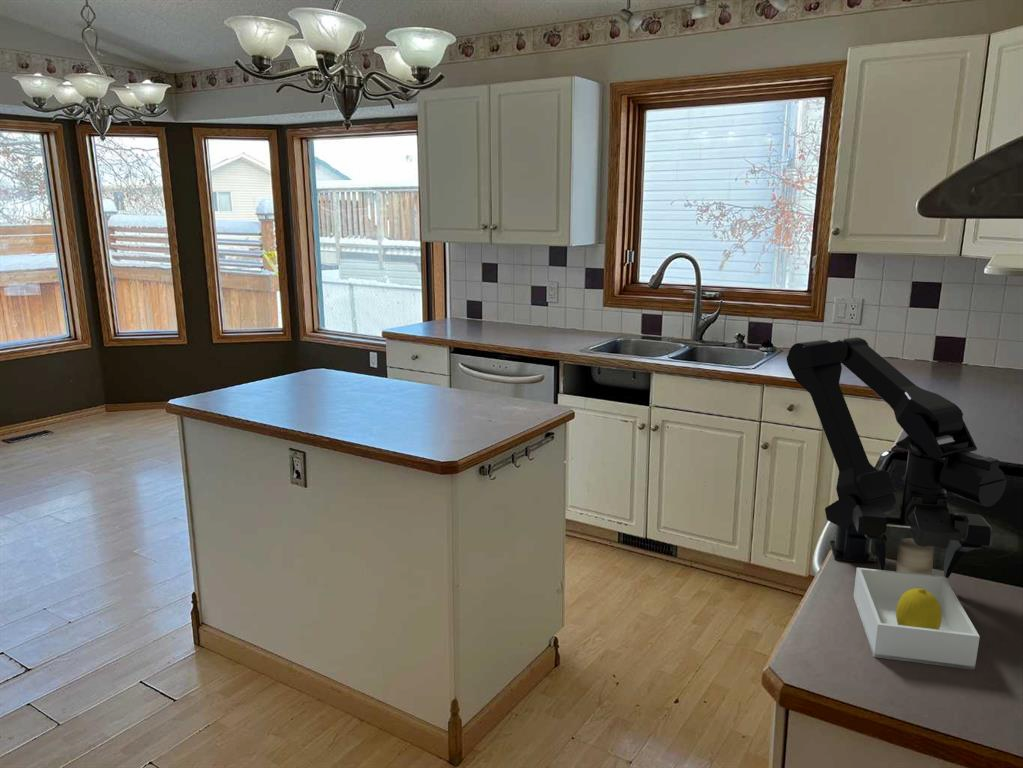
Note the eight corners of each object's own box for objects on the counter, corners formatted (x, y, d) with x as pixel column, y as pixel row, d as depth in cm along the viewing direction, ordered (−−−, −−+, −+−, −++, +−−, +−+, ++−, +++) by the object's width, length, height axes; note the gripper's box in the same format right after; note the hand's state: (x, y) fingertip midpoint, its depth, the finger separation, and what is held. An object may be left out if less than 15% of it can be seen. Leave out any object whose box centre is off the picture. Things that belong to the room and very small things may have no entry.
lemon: (943, 653, 101) (950, 600, 99) (899, 649, 102) (905, 596, 100) (931, 631, 106) (937, 580, 104) (888, 627, 107) (894, 577, 105)
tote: (853, 596, 116) (856, 567, 115) (940, 605, 113) (944, 576, 112) (873, 656, 102) (877, 624, 100) (974, 669, 98) (979, 636, 97)
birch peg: (895, 575, 122) (898, 536, 121) (930, 581, 120) (933, 541, 119) (894, 589, 118) (898, 548, 117) (930, 595, 116) (934, 554, 114)
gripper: (870, 497, 110) (859, 592, 114) (1014, 508, 105) (997, 607, 109) (856, 470, 120) (847, 558, 124) (987, 479, 115) (973, 570, 119)
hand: (913, 573), depth 119 cm, fingers open, 9 cm apart
